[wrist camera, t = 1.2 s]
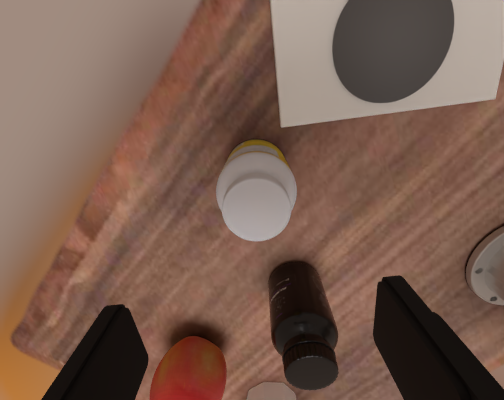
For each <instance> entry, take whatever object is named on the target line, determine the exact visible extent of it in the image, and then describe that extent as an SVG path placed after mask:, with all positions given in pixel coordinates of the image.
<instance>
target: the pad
mask: <svg viewBox="0 0 504 400" xmlns="http://www.w3.org/2000/svg"><path fill="white" fill-rule="evenodd" d="M453 32H454V10H453V4H452V1H451V0H348V2H347V3H346V5H345V6H344V8H343V10H342V12H341V14H340V16H339V19H338V21H337V24H336V28H335V31H334V36H333V45H332V54H333V62H334V67H335V70H336V73H337V75H338V77H339V79H340V81H341V83H342V84H343V86H344V87H345V88H346V89H347V90H348V91H349V92H350V93H351V94H353V95H354V96H356V97H357V98H359V99H362V100H364V101H367V102H372V103H390V102H395V101H398V100H401V99H404V98H406V97H408V96H410V95H412V94H413V93H415V92H416V91H418V90H419V89H420V88H422V87H423V86H424V85H425V84H426V83H427V82H428V81H429V80H430V79H431V78H432V77H433V76H434V75H435V73H436V72H437V71H438V69H439V68H440V66H441V65H442V63H443V61H444V59H445V57H446V55H447V53H448V50H449V48H450V45H451V41H452V37H453Z"/></svg>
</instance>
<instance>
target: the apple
mask: <svg viewBox="0 0 504 400" xmlns="http://www.w3.org/2000/svg"><path fill="white" fill-rule="evenodd" d="M225 384H226V362H225V358H224V355H223V353H222V351H221V350H220V349H219V348H218V347H217V346H216V345H215V344H213V343H212V342H210V341H208V340H206V339H204V338H201V337H198V336H189V337H186V338H184V339H182V340H180V341H179V342H177V343H176V344H175V345H174V346H173V347H172V348H170V349H169V351H168V352H167V353H166V354H165V356H164V357H163V359H162V360H161V362H160V363H159V365H158V367H157V369H156V371H155V374H154V377H153V380H152V384H151V389H150V400H221V399H222V396H223V393H224V389H225Z"/></svg>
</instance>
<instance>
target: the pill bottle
mask: <svg viewBox="0 0 504 400" xmlns="http://www.w3.org/2000/svg"><path fill="white" fill-rule="evenodd" d="M296 197H297V186H296V181H295V178H294V176H293V173H292V171H291V169H290V167H289V165H288V163H287V161H286V159H285V158H284V156H283V154H282V152H281V151H280V150H279V149H278V148H277V147H276V146H275V145H274V144H272V143H271V142H268V141H266V140H262V139H251V140H247V141H244V142H242V143H240V144H239V145H238V146H236V147H235V148H234V149H233V151H232V152H231V153H230V155H229V157H228V159H227V161H226V164H225V166H224V167H223V169H222V171H221V173H220V176H219V178H218V181H217V186H216V198H217V202H218V205H219V208H220V210H221V211H222V215H223V219H224V221H225V223H226V225H227V227H228V228H229V229H230V230H231V231H232V232H233V233H234V234H236V235H237V236H239V237H240V238H243V239H245V240H249V241H264V240H268V239H271V238H273V237H275V236H277V235H278V234H279V233H280V232H282V231H283V229H284V228H285V227H286V226H287V224H288V222H289V219H290V216H291V211H292V209H293V207H294V205H295V202H296Z"/></svg>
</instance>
